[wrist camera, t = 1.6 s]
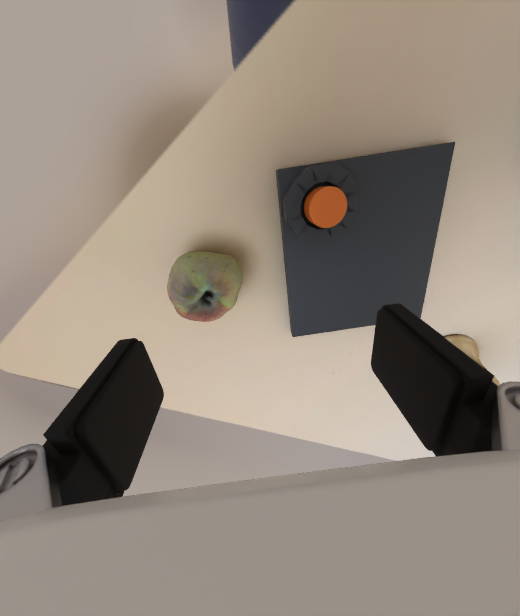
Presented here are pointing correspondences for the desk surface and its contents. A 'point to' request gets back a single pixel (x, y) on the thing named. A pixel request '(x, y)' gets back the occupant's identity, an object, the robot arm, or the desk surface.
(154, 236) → the desk surface
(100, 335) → the desk surface
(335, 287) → the scale
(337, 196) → the button
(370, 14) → the desk surface
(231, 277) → the apple
